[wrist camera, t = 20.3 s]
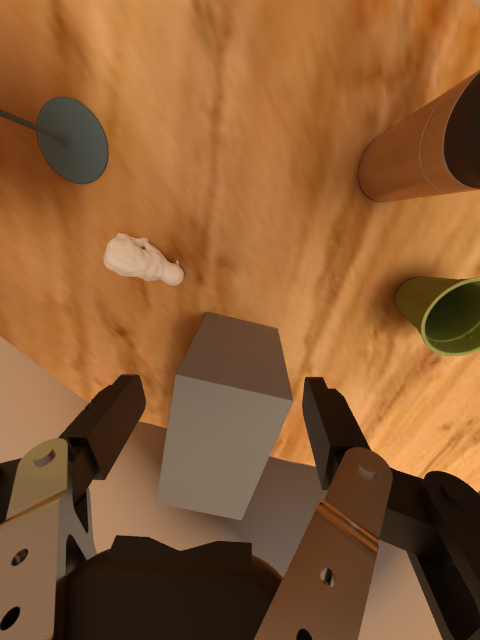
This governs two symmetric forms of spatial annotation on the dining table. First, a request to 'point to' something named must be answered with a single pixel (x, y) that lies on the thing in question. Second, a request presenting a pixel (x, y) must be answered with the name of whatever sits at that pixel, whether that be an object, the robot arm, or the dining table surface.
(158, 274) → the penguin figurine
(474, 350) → the plant pot
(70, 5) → the dining table surface
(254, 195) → the dining table surface
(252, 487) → the shelf
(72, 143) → the cocktail glass
